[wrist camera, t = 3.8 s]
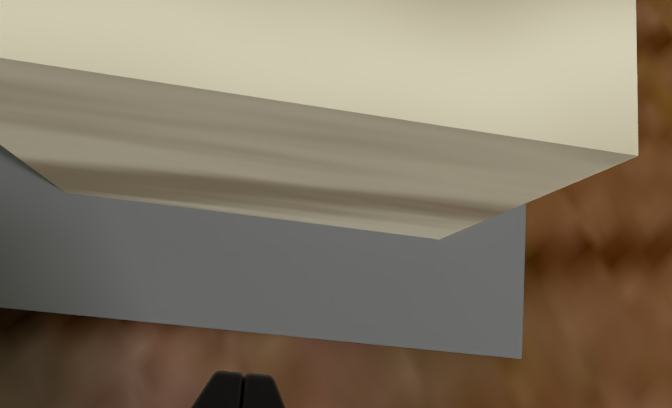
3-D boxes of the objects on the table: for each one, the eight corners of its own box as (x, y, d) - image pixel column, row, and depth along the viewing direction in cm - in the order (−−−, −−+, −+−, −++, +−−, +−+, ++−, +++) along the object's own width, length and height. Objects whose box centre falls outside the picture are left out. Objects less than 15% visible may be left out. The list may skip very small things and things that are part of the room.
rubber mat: (513, 357, 20) (521, 358, 19) (-58, 301, 17) (-69, 300, 17) (529, -180, 24) (536, -193, 24) (84, -285, 22) (80, -301, 21)
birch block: (439, 239, 19) (638, 155, 10) (64, 192, 18) (-149, 34, 8) (447, 100, 20) (634, -101, 11) (95, 43, 19) (-61, -254, 9)
